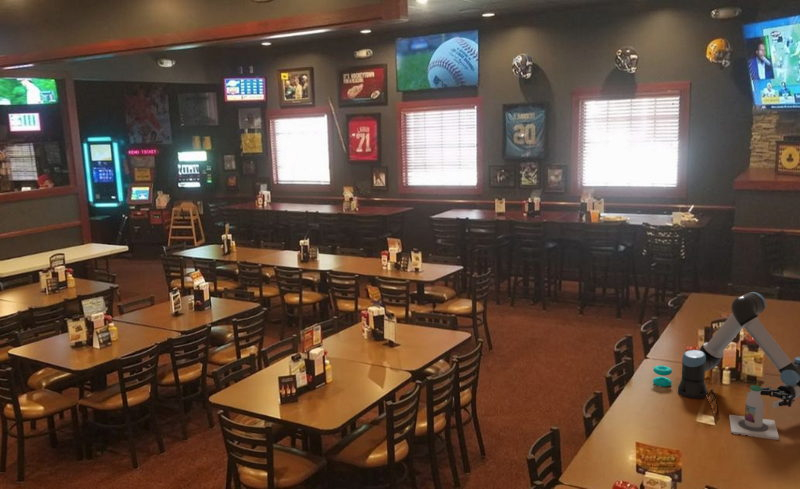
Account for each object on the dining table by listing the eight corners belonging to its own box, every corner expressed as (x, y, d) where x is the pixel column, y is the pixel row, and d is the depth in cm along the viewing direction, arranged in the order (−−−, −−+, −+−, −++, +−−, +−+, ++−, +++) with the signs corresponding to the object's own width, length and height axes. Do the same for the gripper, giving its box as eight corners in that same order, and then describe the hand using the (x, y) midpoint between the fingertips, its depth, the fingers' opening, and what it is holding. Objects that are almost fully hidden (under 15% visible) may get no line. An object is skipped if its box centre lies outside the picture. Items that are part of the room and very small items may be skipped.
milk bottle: (758, 421, 325) (760, 383, 322) (765, 428, 318) (767, 389, 314) (741, 421, 326) (744, 383, 323) (748, 428, 319) (750, 389, 315)
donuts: (676, 368, 376) (663, 372, 372) (675, 385, 377) (662, 388, 373) (662, 363, 385) (649, 366, 381) (661, 379, 386) (649, 383, 382)
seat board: (731, 433, 317) (731, 430, 317) (729, 416, 335) (729, 414, 335) (778, 440, 309) (779, 437, 309) (774, 422, 327) (774, 419, 327)
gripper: (812, 407, 320) (784, 417, 311) (764, 390, 342) (737, 398, 333) (813, 392, 319) (785, 402, 310) (765, 376, 341) (737, 384, 332)
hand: (760, 400), depth 321 cm, fingers open, 13 cm apart
